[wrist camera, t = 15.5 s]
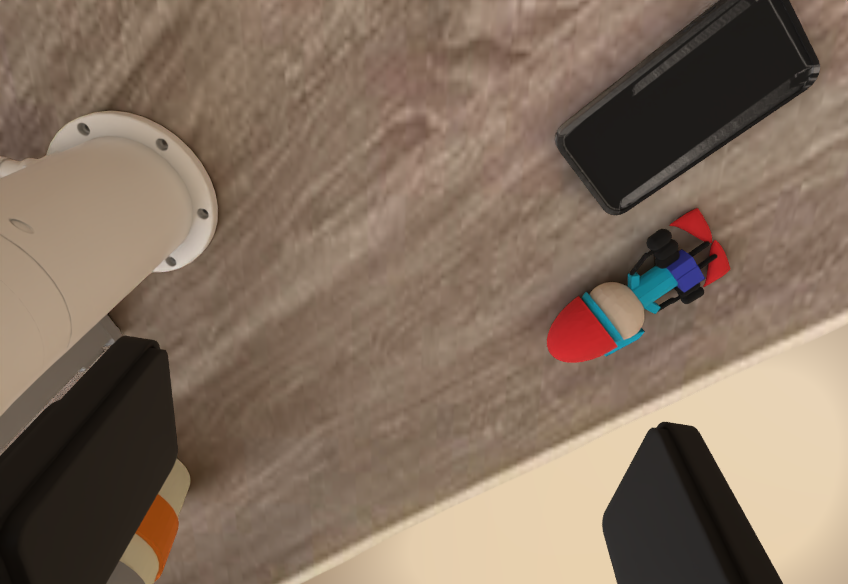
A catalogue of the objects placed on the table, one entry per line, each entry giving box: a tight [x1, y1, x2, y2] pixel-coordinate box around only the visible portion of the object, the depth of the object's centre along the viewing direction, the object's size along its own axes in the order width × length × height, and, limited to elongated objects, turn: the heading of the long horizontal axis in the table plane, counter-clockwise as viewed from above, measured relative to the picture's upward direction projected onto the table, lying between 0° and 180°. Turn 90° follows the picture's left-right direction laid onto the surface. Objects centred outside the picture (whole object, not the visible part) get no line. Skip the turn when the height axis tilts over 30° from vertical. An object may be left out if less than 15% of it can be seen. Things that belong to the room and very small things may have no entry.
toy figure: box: [547, 208, 730, 363], centre depth 40 cm, size 8×5×15 cm
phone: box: [555, 0, 820, 215], centre depth 34 cm, size 8×1×15 cm
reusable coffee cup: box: [106, 458, 190, 584], centre depth 51 cm, size 13×13×15 cm
